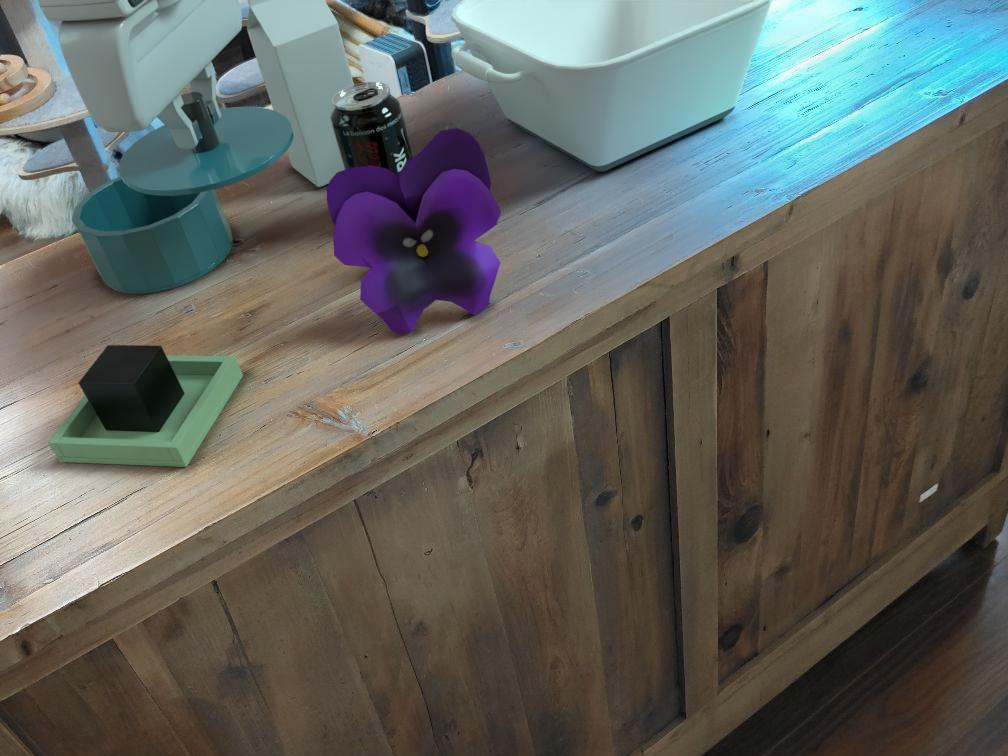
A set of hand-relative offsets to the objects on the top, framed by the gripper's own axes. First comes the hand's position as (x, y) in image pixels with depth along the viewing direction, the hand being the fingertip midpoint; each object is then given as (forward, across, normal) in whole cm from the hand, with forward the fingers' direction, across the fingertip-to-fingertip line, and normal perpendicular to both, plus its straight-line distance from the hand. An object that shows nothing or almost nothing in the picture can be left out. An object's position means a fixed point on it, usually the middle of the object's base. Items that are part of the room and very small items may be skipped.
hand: (200, 134), depth 84 cm
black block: (+15, +17, -3) cm, 23 cm away
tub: (+16, -34, +29) cm, 47 cm away
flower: (+16, -2, +16) cm, 23 cm away
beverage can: (+16, -16, +8) cm, 24 cm away
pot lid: (+2, 0, 0) cm, 2 cm away
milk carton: (+16, -26, -2) cm, 30 cm away
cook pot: (+16, -8, -14) cm, 23 cm away
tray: (+16, +17, -3) cm, 24 cm away
